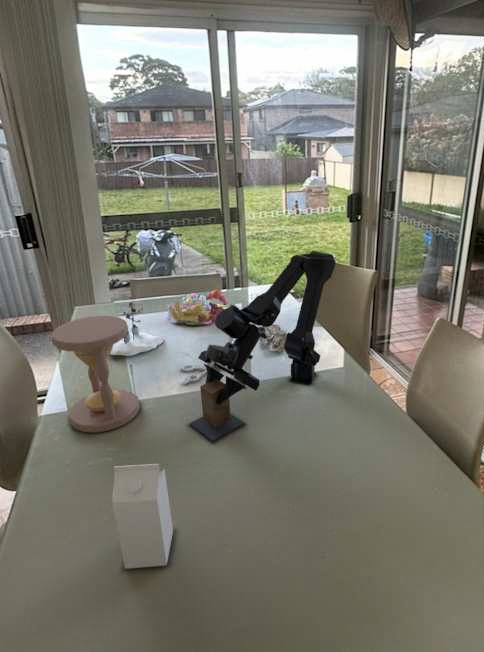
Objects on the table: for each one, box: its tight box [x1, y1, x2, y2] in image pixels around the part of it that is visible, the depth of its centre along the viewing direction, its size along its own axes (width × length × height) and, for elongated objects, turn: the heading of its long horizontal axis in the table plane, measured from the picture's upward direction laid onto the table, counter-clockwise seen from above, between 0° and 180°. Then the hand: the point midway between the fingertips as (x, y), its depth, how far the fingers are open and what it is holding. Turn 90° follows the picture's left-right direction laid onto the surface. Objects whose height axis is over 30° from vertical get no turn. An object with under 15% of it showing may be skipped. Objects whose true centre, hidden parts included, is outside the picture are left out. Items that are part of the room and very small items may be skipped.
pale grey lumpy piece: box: [261, 323, 288, 354], centre depth 161 cm, size 25×10×5 cm
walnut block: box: [199, 379, 231, 428], centre depth 111 cm, size 5×5×10 cm
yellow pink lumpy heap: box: [167, 289, 229, 326], centre depth 182 cm, size 25×24×9 cm
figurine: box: [110, 301, 164, 357], centre depth 154 cm, size 20×18×16 cm
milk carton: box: [111, 463, 174, 569], centre depth 76 cm, size 7×7×19 cm
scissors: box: [181, 364, 207, 385], centre depth 140 cm, size 11×1×20 cm
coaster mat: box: [189, 413, 245, 443], centre depth 113 cm, size 10×10×1 cm
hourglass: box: [51, 315, 141, 434], centre depth 114 cm, size 18×18×25 cm
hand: (210, 399), depth 110 cm, fingers closed on walnut block, 5 cm apart
